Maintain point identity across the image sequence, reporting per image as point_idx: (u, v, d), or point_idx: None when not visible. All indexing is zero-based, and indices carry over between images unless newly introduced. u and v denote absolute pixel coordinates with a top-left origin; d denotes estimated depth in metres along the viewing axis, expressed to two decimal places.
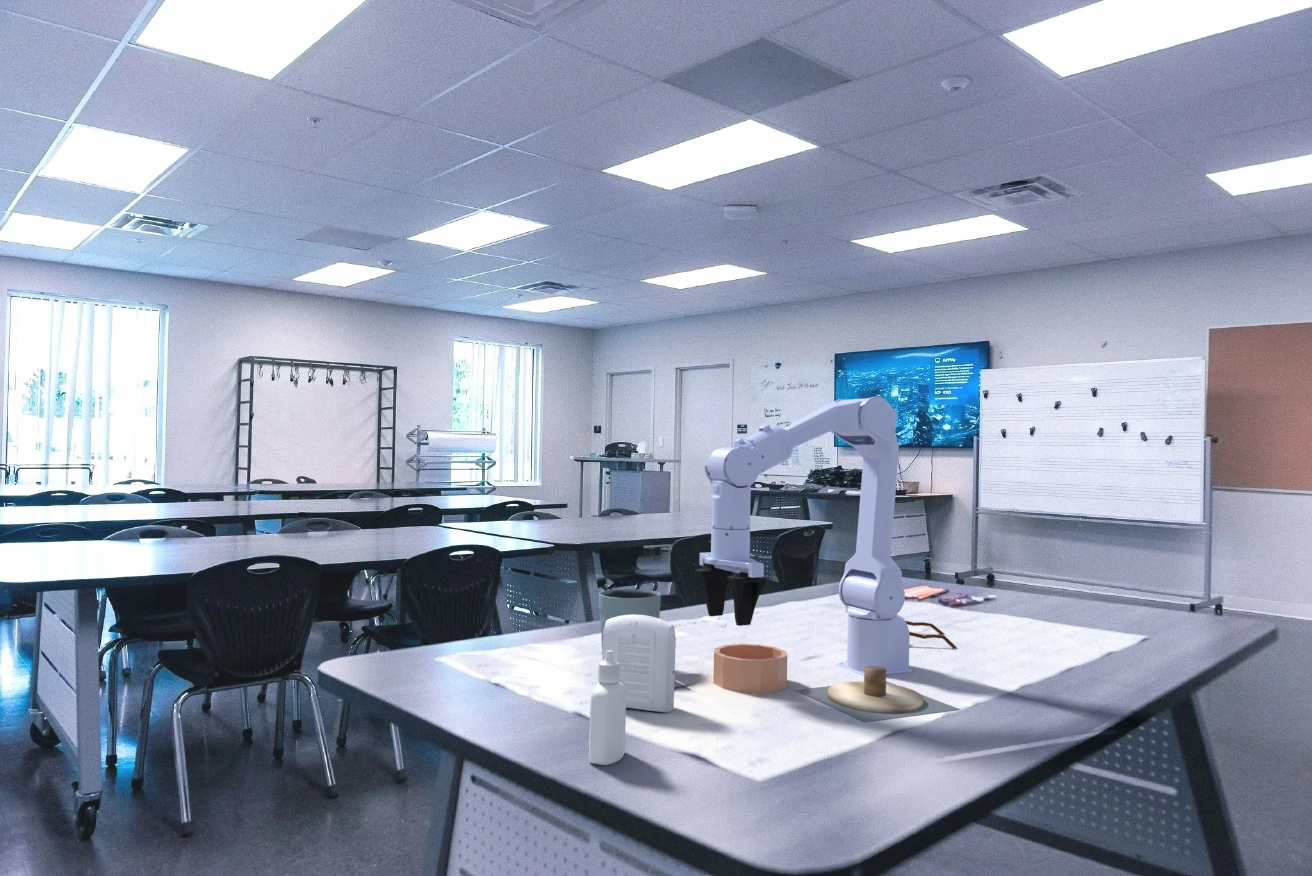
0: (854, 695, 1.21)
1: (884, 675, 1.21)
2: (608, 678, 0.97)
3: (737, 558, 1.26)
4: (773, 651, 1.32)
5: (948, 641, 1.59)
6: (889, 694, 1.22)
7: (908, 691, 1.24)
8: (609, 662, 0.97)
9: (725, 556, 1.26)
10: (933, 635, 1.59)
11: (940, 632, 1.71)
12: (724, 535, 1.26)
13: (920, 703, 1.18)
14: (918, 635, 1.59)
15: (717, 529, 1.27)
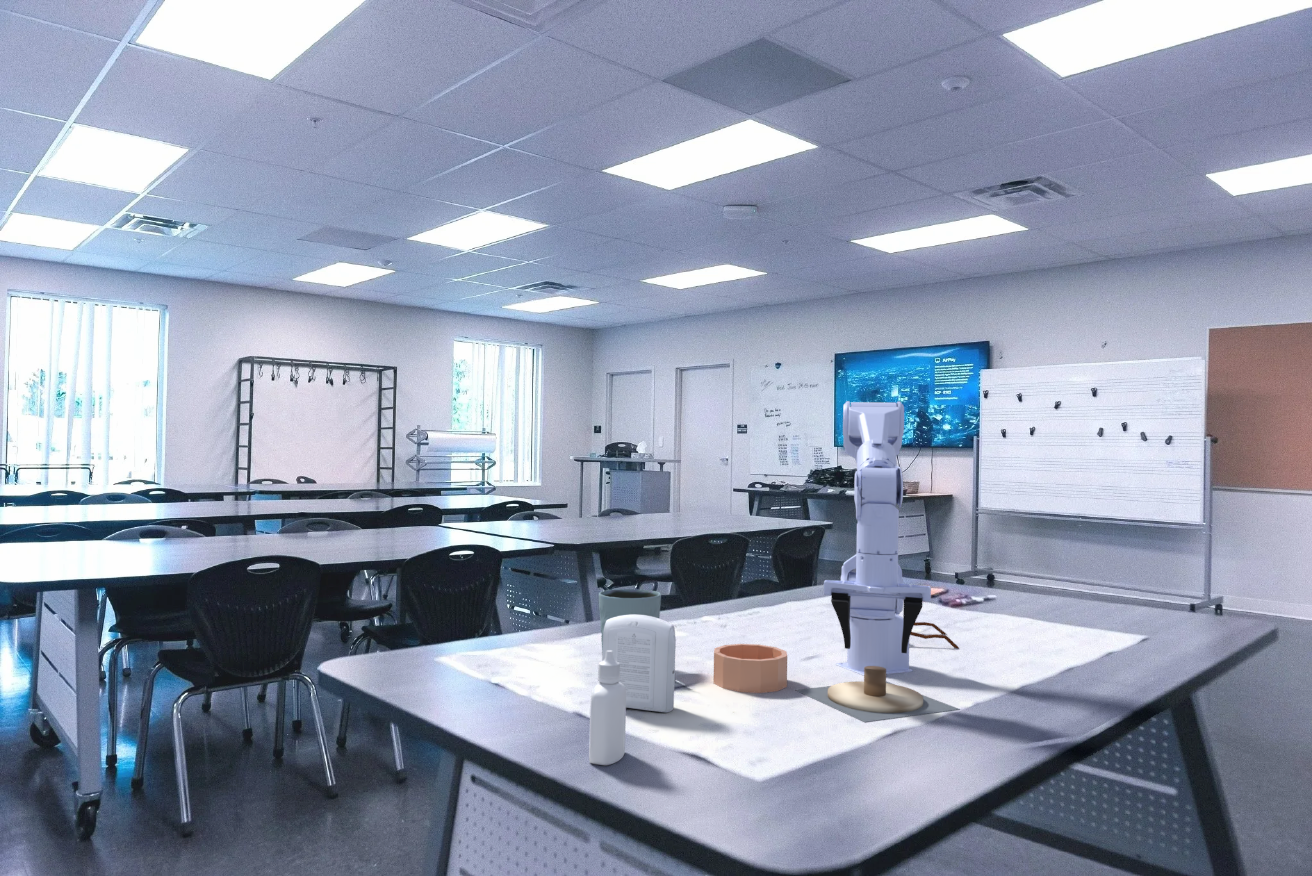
0: (854, 695, 1.21)
1: (884, 675, 1.21)
2: (608, 678, 0.97)
3: (897, 583, 1.21)
4: (773, 651, 1.32)
5: (950, 641, 1.59)
6: (889, 694, 1.22)
7: (908, 691, 1.24)
8: (609, 662, 0.97)
9: (890, 582, 1.20)
10: (935, 635, 1.59)
11: (942, 632, 1.71)
12: (889, 561, 1.20)
13: (920, 703, 1.18)
14: (920, 635, 1.59)
15: (882, 555, 1.20)
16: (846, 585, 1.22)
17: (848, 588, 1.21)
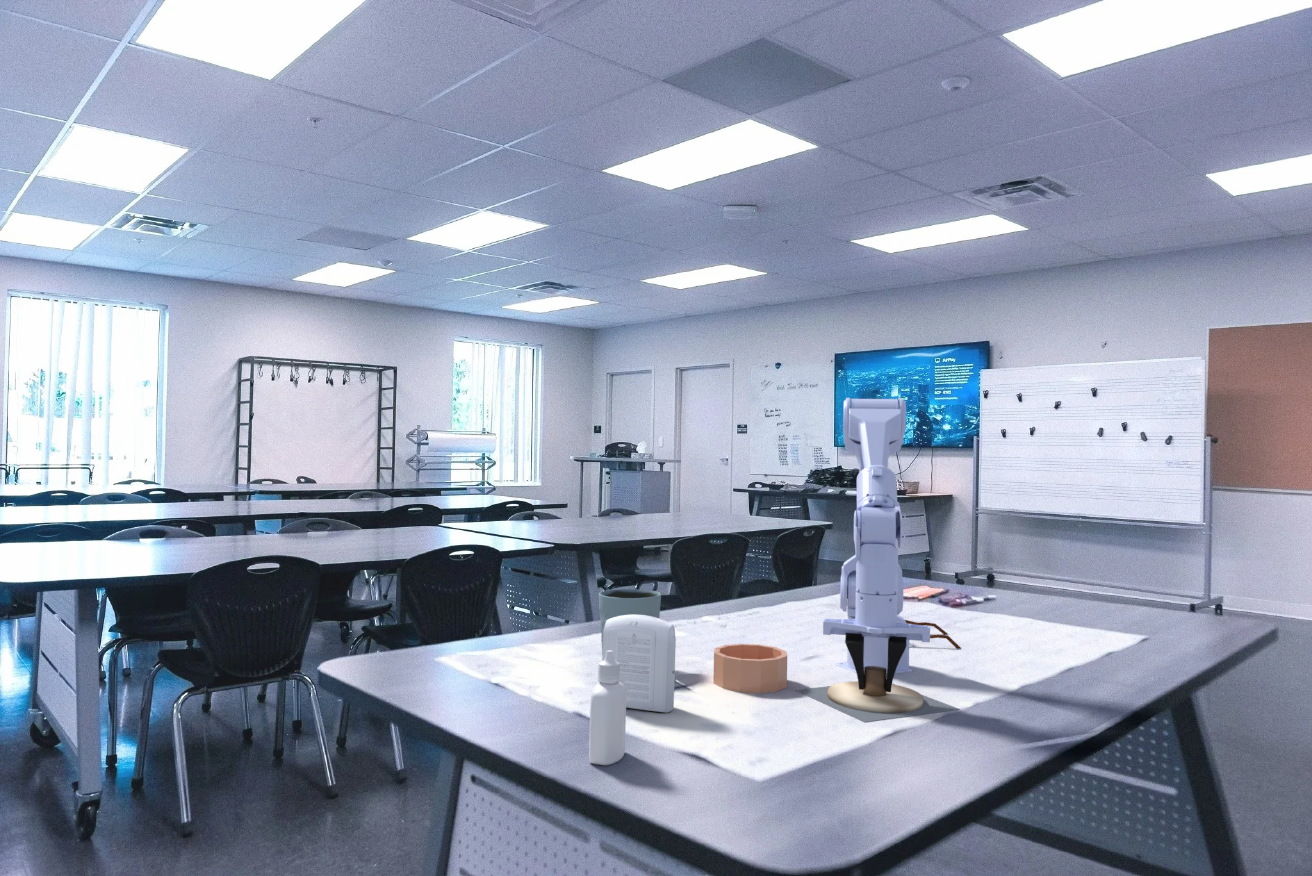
0: (854, 695, 1.21)
1: (884, 675, 1.21)
2: (608, 678, 0.97)
3: (896, 623, 1.21)
4: (773, 651, 1.32)
5: (952, 641, 1.59)
6: (889, 694, 1.22)
7: (908, 691, 1.24)
8: (609, 662, 0.97)
9: (890, 623, 1.20)
10: (937, 635, 1.59)
11: (943, 632, 1.71)
12: (889, 601, 1.20)
13: (920, 703, 1.18)
14: None
15: (881, 595, 1.19)
16: (845, 625, 1.22)
17: (847, 628, 1.21)
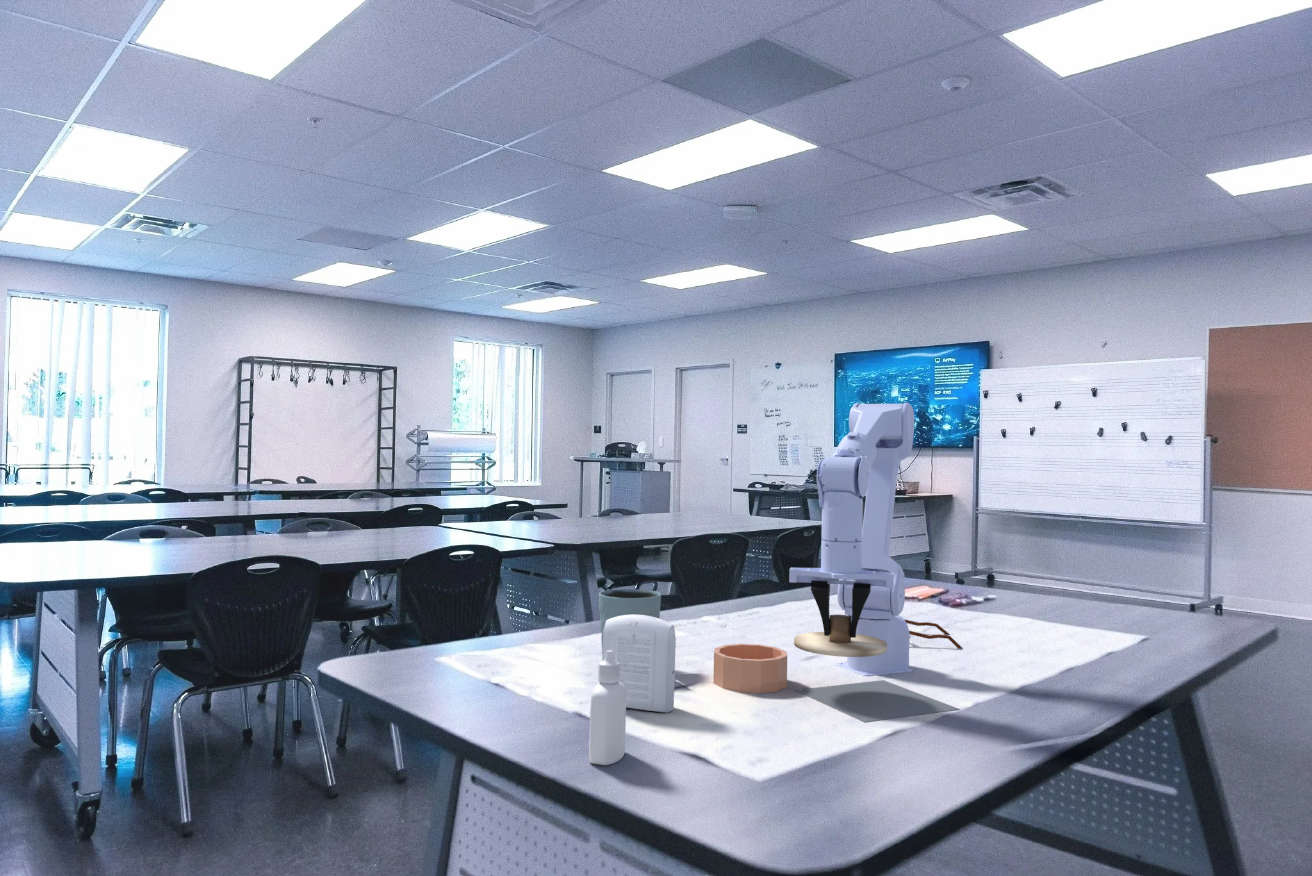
0: (820, 642, 1.23)
1: (849, 622, 1.23)
2: (608, 678, 0.97)
3: (861, 570, 1.23)
4: (773, 651, 1.32)
5: (953, 641, 1.58)
6: (854, 641, 1.24)
7: (873, 639, 1.26)
8: (609, 662, 0.97)
9: (854, 569, 1.22)
10: (938, 635, 1.59)
11: (945, 632, 1.71)
12: (853, 548, 1.22)
13: (884, 648, 1.20)
14: (923, 635, 1.59)
15: (845, 542, 1.22)
16: (811, 572, 1.24)
17: (813, 575, 1.24)
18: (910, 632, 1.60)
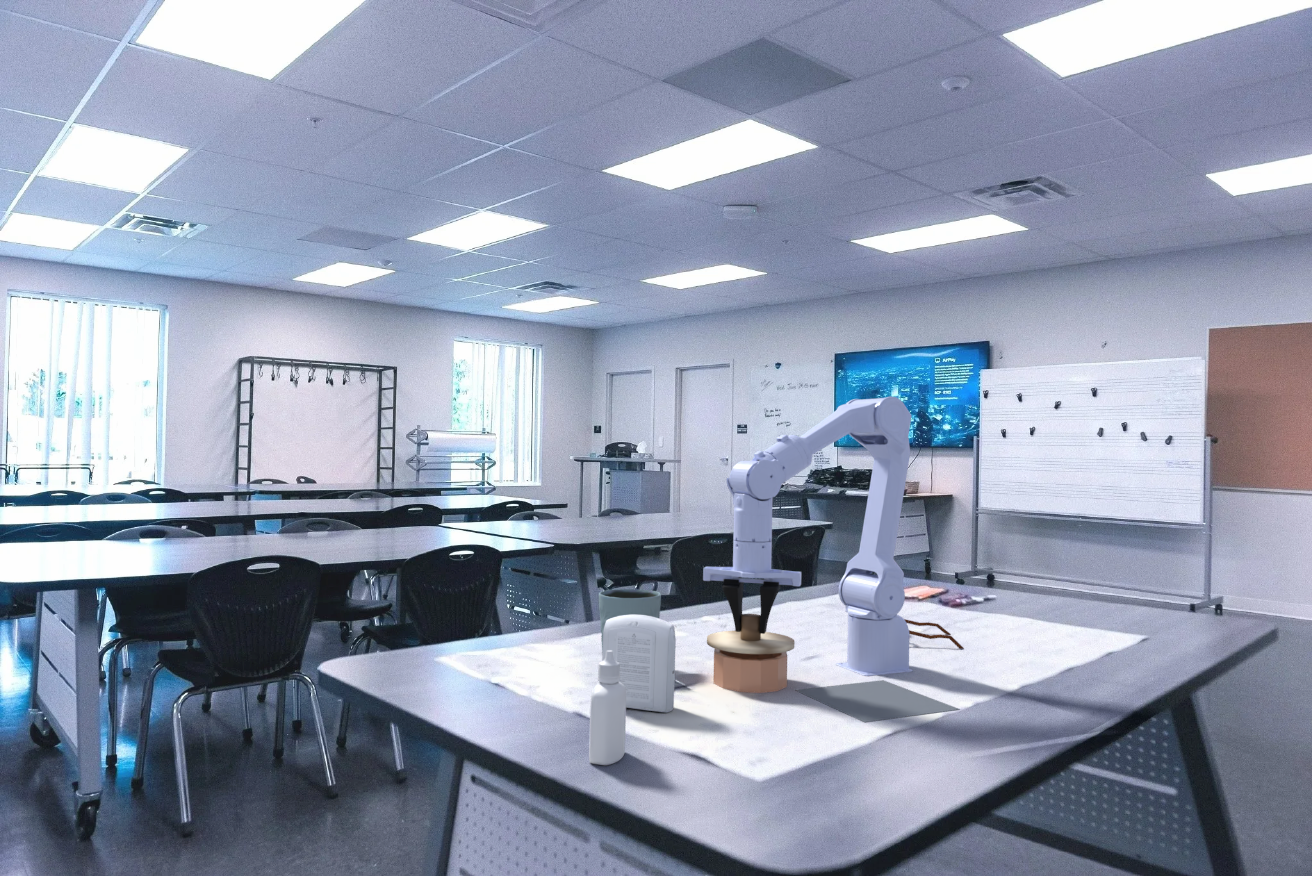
0: (730, 640, 1.28)
1: (758, 621, 1.29)
2: (608, 678, 0.97)
3: (770, 569, 1.29)
4: None
5: (955, 641, 1.58)
6: (764, 639, 1.30)
7: (783, 637, 1.31)
8: (609, 662, 0.97)
9: (762, 568, 1.28)
10: (940, 635, 1.59)
11: (946, 632, 1.71)
12: (761, 548, 1.28)
13: (790, 646, 1.26)
14: (924, 635, 1.59)
15: (754, 542, 1.27)
16: (723, 571, 1.29)
17: (724, 574, 1.29)
18: (911, 632, 1.60)
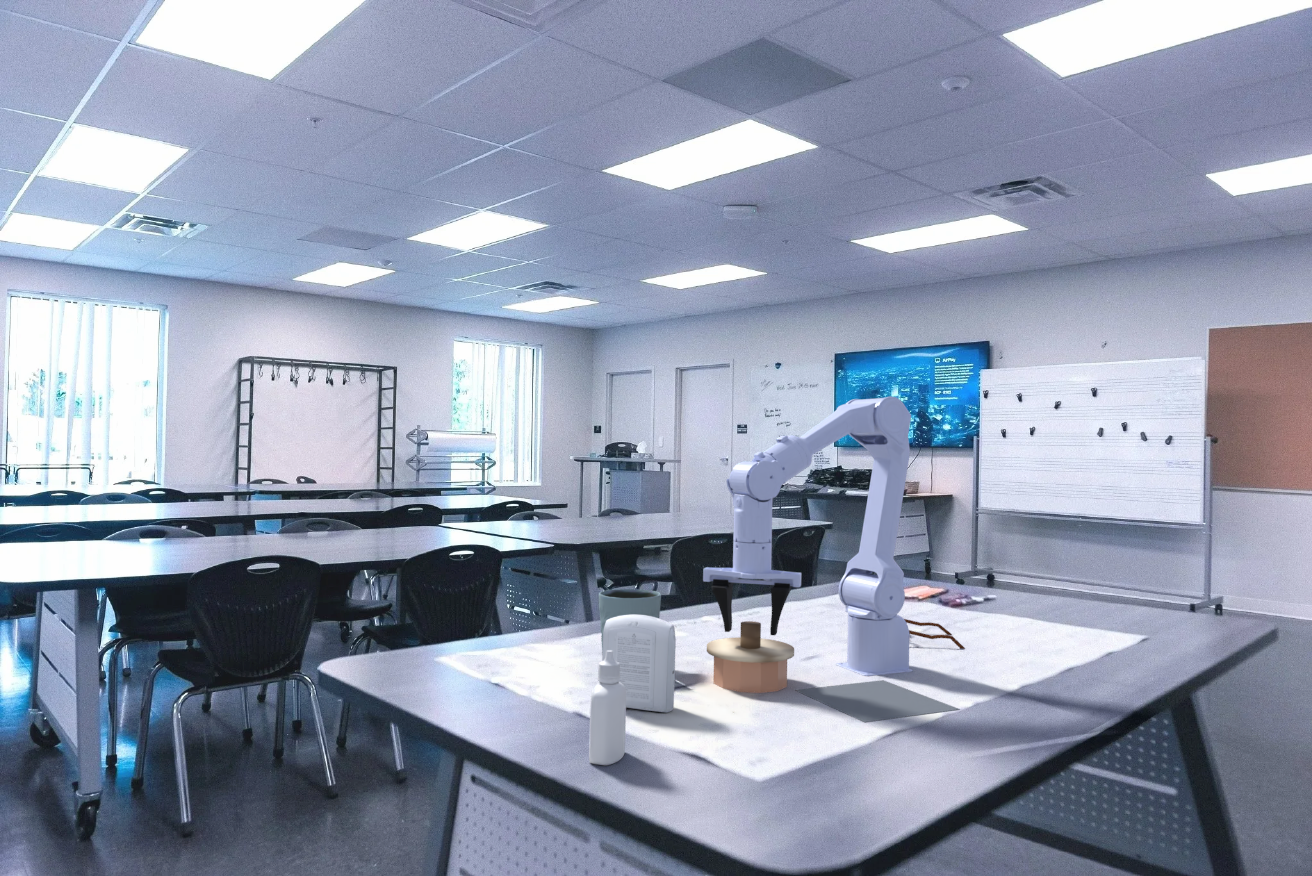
0: (730, 648, 1.28)
1: (758, 629, 1.29)
2: (608, 678, 0.97)
3: (770, 570, 1.29)
4: None
5: (956, 641, 1.58)
6: (763, 647, 1.29)
7: (783, 645, 1.31)
8: (609, 662, 0.97)
9: (762, 569, 1.28)
10: (941, 635, 1.59)
11: (947, 632, 1.71)
12: (761, 549, 1.28)
13: (789, 654, 1.26)
14: (926, 635, 1.59)
15: (754, 543, 1.27)
16: (723, 572, 1.29)
17: (724, 575, 1.29)
18: (912, 632, 1.60)
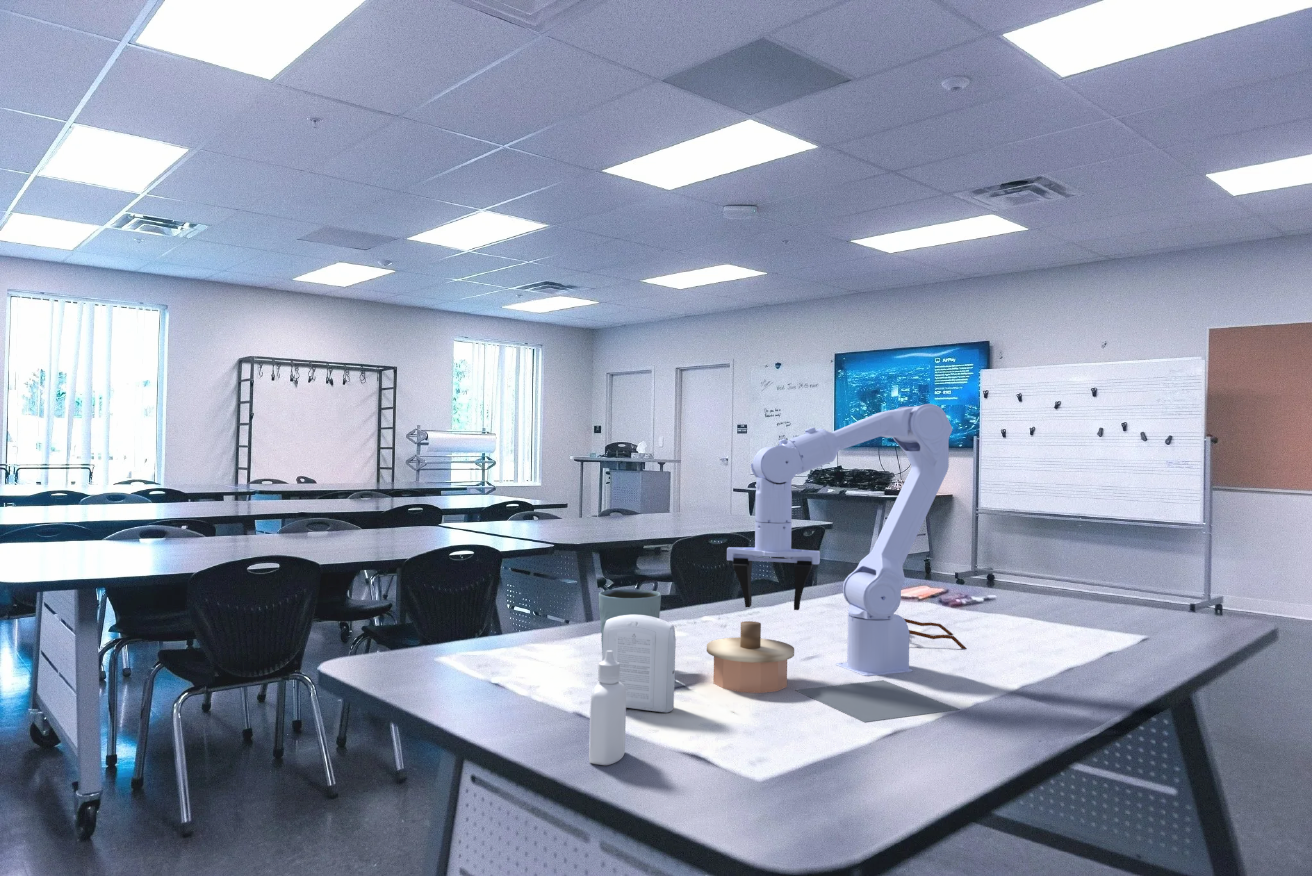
0: (730, 648, 1.28)
1: (758, 629, 1.29)
2: (608, 678, 0.97)
3: (790, 549, 1.37)
4: None
5: (957, 641, 1.58)
6: (763, 647, 1.29)
7: (783, 645, 1.31)
8: (609, 662, 0.97)
9: (783, 548, 1.35)
10: (942, 635, 1.59)
11: (948, 632, 1.71)
12: (782, 528, 1.35)
13: (789, 654, 1.26)
14: (927, 635, 1.59)
15: (775, 523, 1.35)
16: (745, 551, 1.37)
17: (747, 553, 1.37)
18: (914, 632, 1.59)
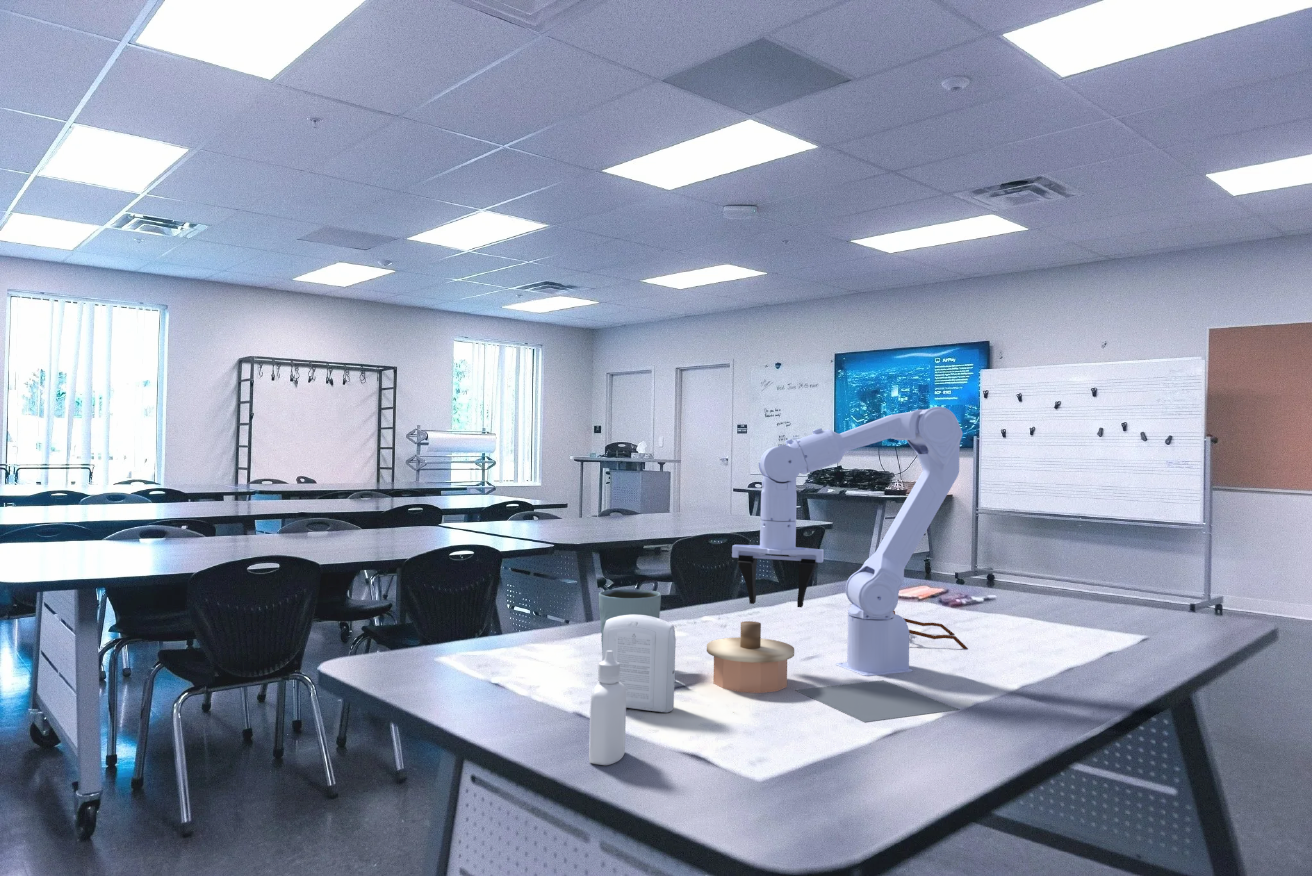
0: (730, 648, 1.28)
1: (758, 629, 1.29)
2: (608, 678, 0.97)
3: (794, 547, 1.39)
4: None
5: (959, 641, 1.58)
6: (763, 647, 1.29)
7: (783, 645, 1.31)
8: (609, 662, 0.97)
9: (788, 546, 1.38)
10: (944, 635, 1.59)
11: (950, 632, 1.71)
12: (787, 527, 1.38)
13: (789, 654, 1.26)
14: (929, 635, 1.59)
15: (780, 522, 1.37)
16: (750, 548, 1.40)
17: (752, 551, 1.39)
18: (915, 632, 1.59)
